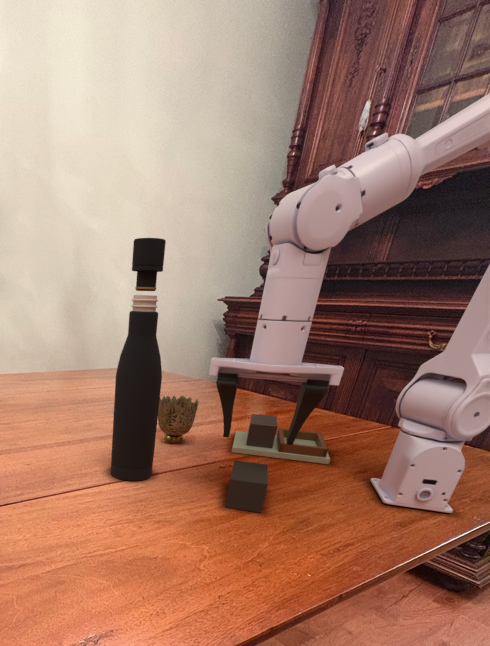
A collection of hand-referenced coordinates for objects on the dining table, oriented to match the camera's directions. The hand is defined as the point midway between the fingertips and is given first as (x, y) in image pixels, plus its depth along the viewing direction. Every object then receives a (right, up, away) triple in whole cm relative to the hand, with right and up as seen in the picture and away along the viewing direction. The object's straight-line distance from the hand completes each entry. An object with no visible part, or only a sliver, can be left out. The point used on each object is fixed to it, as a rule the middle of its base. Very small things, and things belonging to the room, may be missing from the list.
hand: (257, 439), depth 55 cm
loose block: (0, -7, +4) cm, 8 cm away
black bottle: (-15, -3, +12) cm, 19 cm away
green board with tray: (+14, +4, +25) cm, 29 cm away
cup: (-5, +6, +27) cm, 28 cm away
